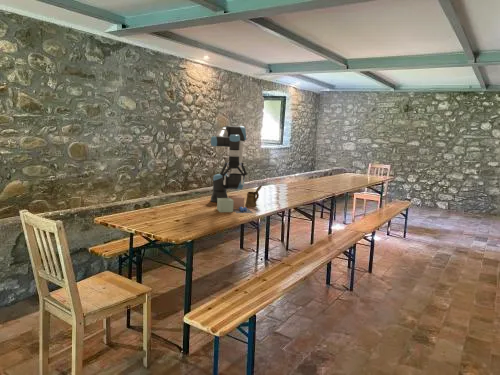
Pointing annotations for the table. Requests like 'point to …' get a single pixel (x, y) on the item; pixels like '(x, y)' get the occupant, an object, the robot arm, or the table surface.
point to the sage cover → (225, 204)
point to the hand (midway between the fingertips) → (233, 184)
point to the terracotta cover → (237, 201)
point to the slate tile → (243, 211)
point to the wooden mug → (252, 197)
